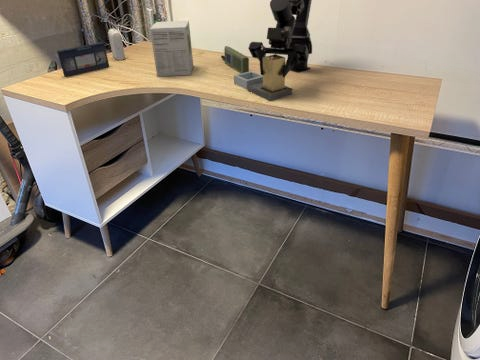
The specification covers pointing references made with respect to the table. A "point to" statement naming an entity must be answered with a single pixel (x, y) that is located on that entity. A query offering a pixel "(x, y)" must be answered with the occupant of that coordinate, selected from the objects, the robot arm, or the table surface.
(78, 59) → the vhs cassette tape
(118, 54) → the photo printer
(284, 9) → the robot arm
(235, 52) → the handheld radio
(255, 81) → the parts tray
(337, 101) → the table surface
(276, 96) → the grey holder tray
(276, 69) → the brass tower with button
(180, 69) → the supplement box
